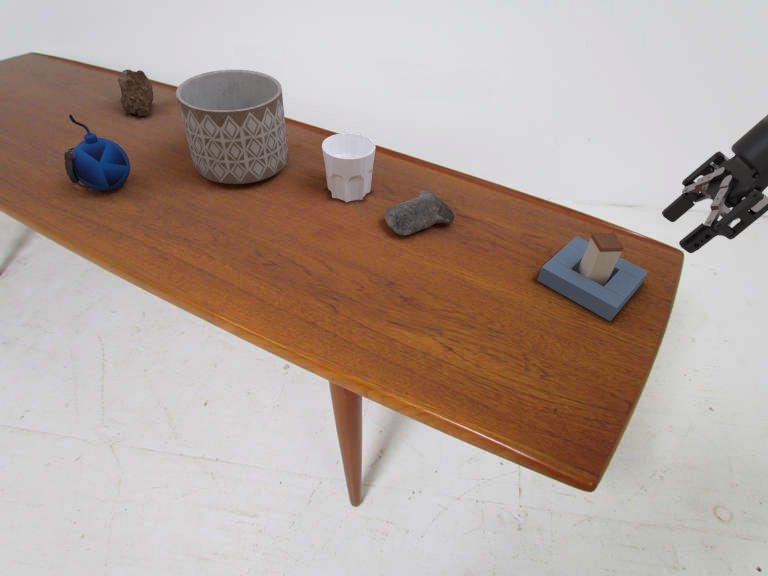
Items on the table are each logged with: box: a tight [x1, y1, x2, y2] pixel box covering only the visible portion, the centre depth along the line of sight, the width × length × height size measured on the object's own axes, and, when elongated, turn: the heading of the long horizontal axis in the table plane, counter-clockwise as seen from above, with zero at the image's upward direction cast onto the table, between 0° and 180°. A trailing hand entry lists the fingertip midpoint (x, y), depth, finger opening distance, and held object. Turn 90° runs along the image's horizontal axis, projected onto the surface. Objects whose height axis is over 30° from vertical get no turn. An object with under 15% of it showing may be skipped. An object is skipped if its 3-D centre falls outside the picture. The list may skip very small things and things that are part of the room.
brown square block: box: [576, 232, 625, 286], centre depth 80 cm, size 4×4×9 cm
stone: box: [384, 188, 455, 237], centre depth 93 cm, size 12×5×10 cm
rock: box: [117, 69, 154, 118], centre depth 119 cm, size 10×6×10 cm
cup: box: [321, 132, 377, 203], centre depth 97 cm, size 10×10×10 cm
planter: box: [175, 69, 289, 185], centre depth 100 cm, size 19×19×16 cm
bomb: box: [64, 114, 131, 192], centre depth 92 cm, size 10×11×15 cm
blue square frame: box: [536, 235, 649, 322], centre depth 83 cm, size 13×12×3 cm
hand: (675, 232), depth 69 cm, fingers open, 8 cm apart
